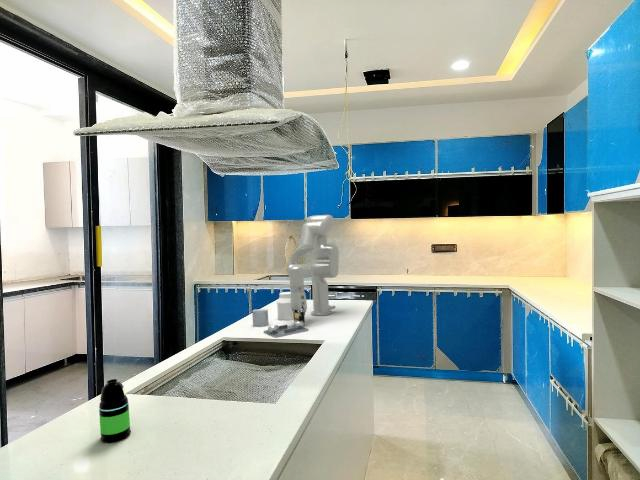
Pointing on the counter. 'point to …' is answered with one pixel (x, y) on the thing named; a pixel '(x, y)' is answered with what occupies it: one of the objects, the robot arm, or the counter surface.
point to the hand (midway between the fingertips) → (299, 321)
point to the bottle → (114, 413)
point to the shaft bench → (286, 329)
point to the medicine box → (260, 317)
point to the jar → (285, 306)
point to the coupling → (296, 316)
